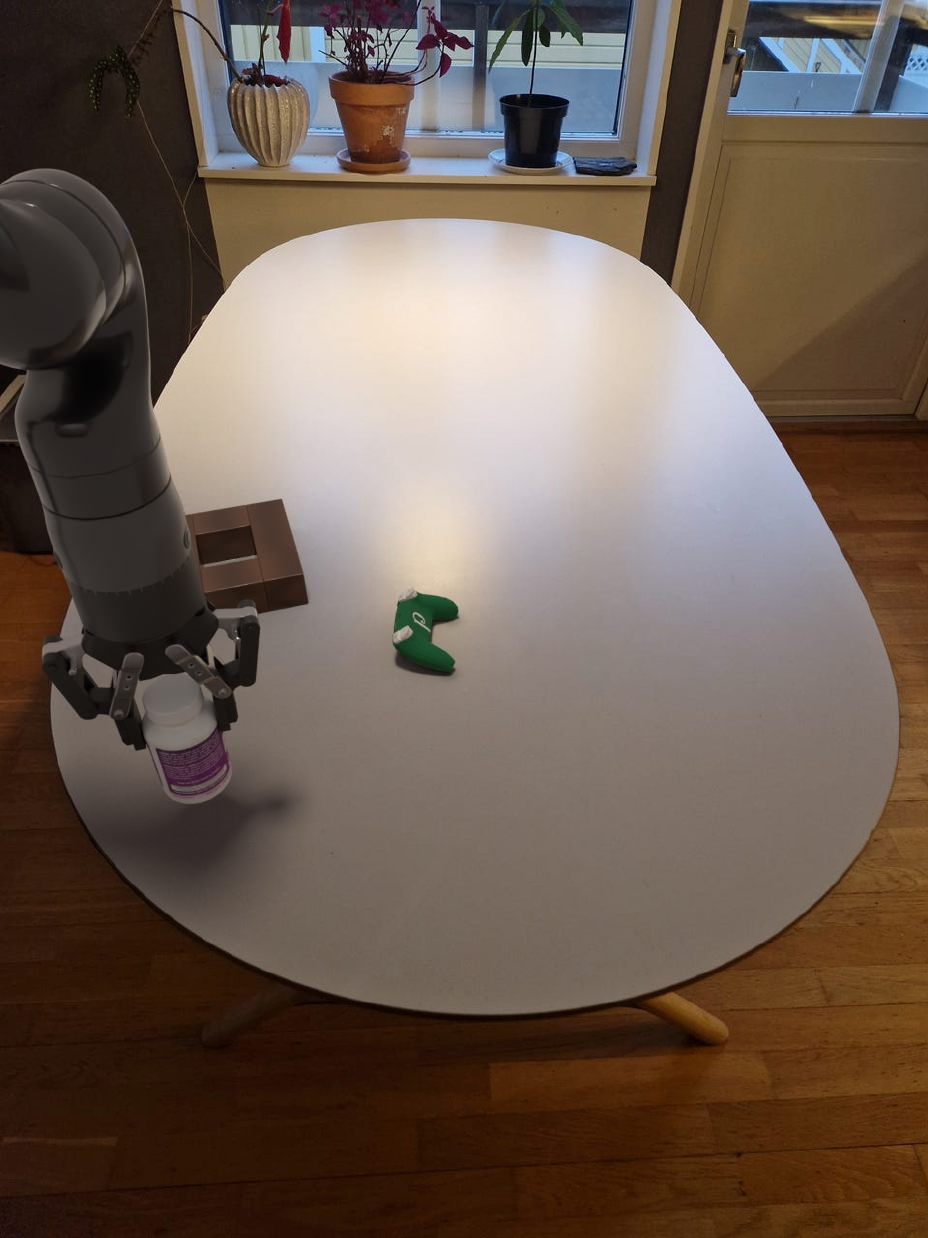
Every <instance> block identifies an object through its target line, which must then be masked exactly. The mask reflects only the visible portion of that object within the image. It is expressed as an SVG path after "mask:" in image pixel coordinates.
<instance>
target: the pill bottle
mask: <svg viewBox="0 0 928 1238" xmlns="http://www.w3.org/2000/svg"><path fill="white" fill-rule="evenodd" d="M141 697H142V698H141V700H142V706H143V708H144V714H143V716H142V732H143V736H144V739H145V742H146V748H147V750H148V752H149V755H150V758H151V761H152V763H153V764H152V765H153V767H154V770H155V771H156V774H157V776H158V779H159V782H160V784H161V788H162V789H163V791H164V793H165V795H167V796H168V797H169V799H171V800H172V801H175V802H177V803H181V804H186V805H194V804H195V805H196V804H201V803H204V802H206V801H209V800H212V799H213V798H215V797H216V796H219V794H220V793H222V792H223V791H224V790H225V788H226V787H227V786H228V785H229V783H230V781H231V778H232V775H233V773H232V772H233V767H232V763H231V758H230V754H229V751H228V750H229V749H228V745H227V743H226V738H225V735H224V734H225V733H224V732H221V729H220V725H219V722H218V718H217V714H216V710H215V707H214V703H213V699H211V698H210V697H209V696H208V695H206V694H204V693H203V690H202V687H201V685H199V684H197V683H196V682H195V681H194V680H193V679H192V678H191V677H190V676H189V675H188V674H187V673H179V674H163V675H161V676H158V677H156V679H153V680H152V681H151V682H150V683H148V685H147V686H146V687H145V689H144V691H143V693H142V696H141Z"/></svg>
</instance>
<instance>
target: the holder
mask: <svg viewBox="0 0 928 1238" xmlns="http://www.w3.org/2000/svg"><path fill="white" fill-rule="evenodd" d="M185 516H186V520H187V525H188V528H189V531H190V534H191V541H192V545H193V549H194V553H195V558H196V562H197V566H198V570H199V574H200V578H201V582H202V586H203V590H204V594H205V597H206V598H207V599H208V600H209V601H210V602H211V603H212V604H213V605H214V606H215V608H216V609H236V608H237V606H238V604H239V602H240V601H242V600H245V599H249V600H252V601H254V603H255V605H256V610H257V614H261V613H266V612H271V611H276V610H281V609H287V608H291V607H296V606H301V605H305V604H308V603H309V600H308V599H309V598H308V593H307V586H306V580H305V579H306V578H305V573H304V570H303V566H302V563H301V560H300V556H299V552H298V550H297V549H298V548H297V545H296V542H295V539H294V535H293V531H292V529H291V525H290V521H289V519H288V515H287V511H286V507H285V504H284V501H283V498H277V499H271V500H266V501H259V502H254V503H249V504H241V505H236V506H230V507H223V508H218V509H212V510H207V511H201V512H195V513H190V514H188V513H187V514H185ZM254 555H256V557H254V558H249V559H244V560H238V561H232V562H228V563H220V564H217V565H216V564H215V565H211V566H206V567H204V565H205V564H210V563H216V562H222V561H227V560H232V559H238V558H243V557H249V556H254Z"/></svg>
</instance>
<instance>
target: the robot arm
mask: <svg viewBox="0 0 928 1238" xmlns="http://www.w3.org/2000/svg"><path fill="white" fill-rule="evenodd" d="M148 319H149V317H148V306H147V297H146V287H145V281H144V275H143V269H142V266H141V262H140V258H139V255H138V252H137V248H136V246H135V243H134V240H133V238H132V235H131V233H130V231H129V229H128V227H127V225H126V223H125V221H124V219H123V218H122V216H121V214H120V213H119V212H118V210H117V209H116V208H115V206H114V205H113V203H112V202H111V201H110V200H109V199H108V198H107V197H106V195H104V194H103V193H102V191H100V190H99V189H98V188H96V186H94V185H93V184H91V183H90V182H88V181H87V180H85V179H83V178H82V177H80V176H78V175H76V174H73V173H70V172H68V171H65V170H61V169H56V168H34V169H30V170H26V171H23V172H20V173H18V174H15V175H13V176H11V177H10V178H8V179H7V180H4V182H2V183H1V184H0V365H2V366H6V367H9V368H13V369H17V370H23V371H26V376H25V381H24V384H23V387H22V389H21V391H20V394H19V397H18V399H17V402H16V405H15V410H14V425H15V433H16V435H17V439H18V443H19V446H20V449H21V452H22V455H23V457H24V460H25V462H26V464H27V467H28V470H29V473H30V475H31V478H32V480H33V483H34V485H35V486H34V487H35V488H36V491H37V493H38V496H39V499H40V502H41V505H42V509H43V515H44V519H45V526H46V529H47V533H48V536H49V539H50V543H51V546H52V548H53V551H52V553H53V556H54V558H55V561H56V563H57V566H58V567H59V568H60V570H61V571H62V574H63V577H64V579H65V582H66V585H67V587H68V591H69V593H70V595H71V598H72V600H73V603H74V606H75V608H76V611H77V613H78V616H79V618H80V622H81V625H82V628H81V633H79V634H78V635H74V636H71V637H68V638H66V639H63V637H62V636H60V635H57V634H51V635H50V634H49V635H47V636H46V637H45V638H44V639H43V642H42V643H43V644H42V651H41V652H42V653H41V669H42V670H41V671H42V672H43V673H44V674H45V675H46V676H47V678H48V679H49V680H50V681H51V683H52V684H53V685H54V687H55V688H56V689H57V690H58V691H59V693H60V694H61V695H62V697H63V698H64V700H66V701H67V703H68V704H69V705H70V707H71V708H72V709H73V710H74V711H75V713H76V715H78V716H79V718H80V719H82V720H85V721H91V720H94V719H96V718H97V717H98V716H99V715H102V716H103V715H104V716H109V718H110V719H112V720H113V722H114V724H115V726H116V729H117V732H118V734H119V737H120V739H121V742H122V743H123V744H124V745H125V746H133V748H134V751H135V752H138V751H143V750H146V749H147V744H146V742H145V739H144V736H143V732H142V719H143V717H142V716H141V713H140V710H139V707H138V704H137V702H136V698H135V695H136V691H137V688H138V683H139V682H143V681H148V680H149V681H150V680H154V679H155V678H159V677H161V676H164V675H168V674H179V673H183V674H188V675H189V676H190V677H191V678H192V679H193V680H194V681H195V682H196V683H197V684H199V685H200V686H201V685H203V686H204V687H205V688H206V689H207V690H208V691H209V692H210V693H211V696H212V702H213V703H214V707H215V710H216V714H217V718H218V722H219V725H220V729H221V732H223V733H224V732H228V731H232V726H231V724H234V723H237V721H238V719H239V714H238V707H237V702H236V698H235V693H234V691H235V690H236V689H238V687H243V688H249V687H252V686H253V685H255V684H256V682H257V675H258V662H259V661H258V660H259V651H260V649H259V648H260V637H261V636H260V635H261V625H260V621H259V615H258V613H257V610H256V605H255V603H254V601H252V600H249V599H245V600H242V601H240V602H239V604H238V606H237V608H236V609H216V608H215V606H214V605H213V604H212V603H211V602H210V601H209V600H208V599H207V598H206V597H205V594H204V590H203V586H202V582H201V578H200V574H199V570H198V566H197V562H196V558H195V553H194V549H193V545H192V541H191V534H190V531H189V528H188V525H187V520H186V516H185V515H186V513H185V509H184V505H183V502H182V499H181V497H180V494H179V492H178V490H177V488H176V485H175V483H174V481H173V477H172V474H171V471H170V467H169V463H168V462H169V461H168V457H167V454H166V450H165V446H164V442H163V438H162V434H161V430H160V427H159V423H158V419H157V417H156V414H155V410H154V407H153V401H152V394H151V393H152V392H151V350H150V337H149V335H150V334H149V321H148ZM218 629H221V630H224V631H225V632H226V635H227V637H228V639H229V640H231V641H233V642H234V643H235V644H234V659H232V660H230V661H229V662H227V663H226V662H224V661H223V659H222V658H221V657H220V656H219V655H218V654H217V653H216V652H215V651H214V649H213V646H212V644H211V643H210V642H211V641H212V639H213V638H214V637H215V635H216V633H217V632H218ZM84 655H87V656H89V657H90V658H92V659H94V660H96V661H98V662H99V663H101V664H103V665H106V666H107V667H109V668H110V669H112V674H111V678H110V682H109V686H108V687H105V686H104V687H103V686H99V685H98V684H97V683H96V681H95V680H94V679H93V677H92V676H91V674H89V671H87V669H86V668H85V666H84Z"/></svg>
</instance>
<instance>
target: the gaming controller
mask: <svg viewBox="0 0 928 1238" xmlns="http://www.w3.org/2000/svg"><path fill="white" fill-rule="evenodd" d="M396 607H397V608H396V611H395V616H394V625H393V634H392V638H391V639H392V641H391V642H392V646H393V647H394V649H395V650H396V651H397V652H398V653H399V656H401V657H402V658H405V659H406V660H408V661H410V662H412V663H414V664H417V665H420V666H422V667H424V668H428V669H430V670H435V671H441V672H446V673H447V672H448V673H451V672H452V670H453V668H454V666H455V664H456V660H455V659H454V657H452V656H451V654H449V653H448V652H447V650H445V649H443V648H440V647H439V646H437V645H435V644H433V643H432V642H431V638H432V627H433V621H436V620H437V621H443V620H451V619H454V618H456V617H457V616H458V614H459V611H460V610H459V606H458V605H457V604H456V603H455V601H454V600H452V599H450V598H448V597H445V596H439V595H434V594H427V593H422V592H418V591H417V590H415V588H414V587H411V588H409V589H406V590H405V591H404V592H402V593H401V595H399V596H398V599H397V603H396Z"/></svg>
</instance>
